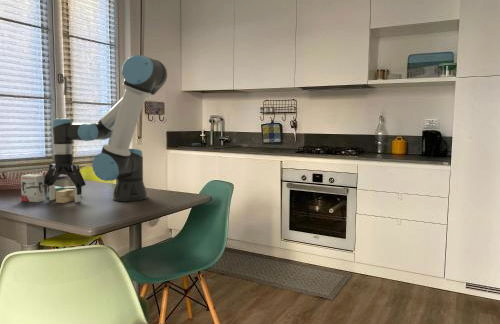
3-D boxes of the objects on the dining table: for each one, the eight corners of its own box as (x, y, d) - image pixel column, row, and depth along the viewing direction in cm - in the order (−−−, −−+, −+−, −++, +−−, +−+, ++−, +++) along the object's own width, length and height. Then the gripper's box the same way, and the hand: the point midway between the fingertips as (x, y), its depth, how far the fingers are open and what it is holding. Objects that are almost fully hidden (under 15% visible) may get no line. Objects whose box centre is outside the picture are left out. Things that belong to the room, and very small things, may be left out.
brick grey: (81, 196, 191) (81, 186, 190) (79, 198, 187) (78, 187, 186) (66, 196, 190) (65, 186, 189) (63, 198, 186) (62, 187, 185)
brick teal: (47, 197, 188) (47, 187, 187) (56, 196, 191) (55, 186, 191) (55, 199, 184) (54, 188, 183) (63, 198, 187) (63, 187, 186)
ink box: (20, 201, 177) (19, 175, 176) (29, 199, 182) (28, 173, 181) (37, 202, 175) (36, 175, 174) (45, 200, 180) (44, 174, 179)
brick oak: (67, 199, 182) (67, 188, 182) (75, 200, 181) (74, 189, 181) (56, 202, 176) (55, 191, 175) (63, 203, 175) (63, 191, 174)
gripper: (93, 153, 177) (94, 201, 179) (46, 152, 184) (48, 197, 186) (81, 155, 169) (82, 204, 171) (33, 153, 177) (35, 200, 179)
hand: (65, 200), depth 179 cm, fingers open, 13 cm apart
